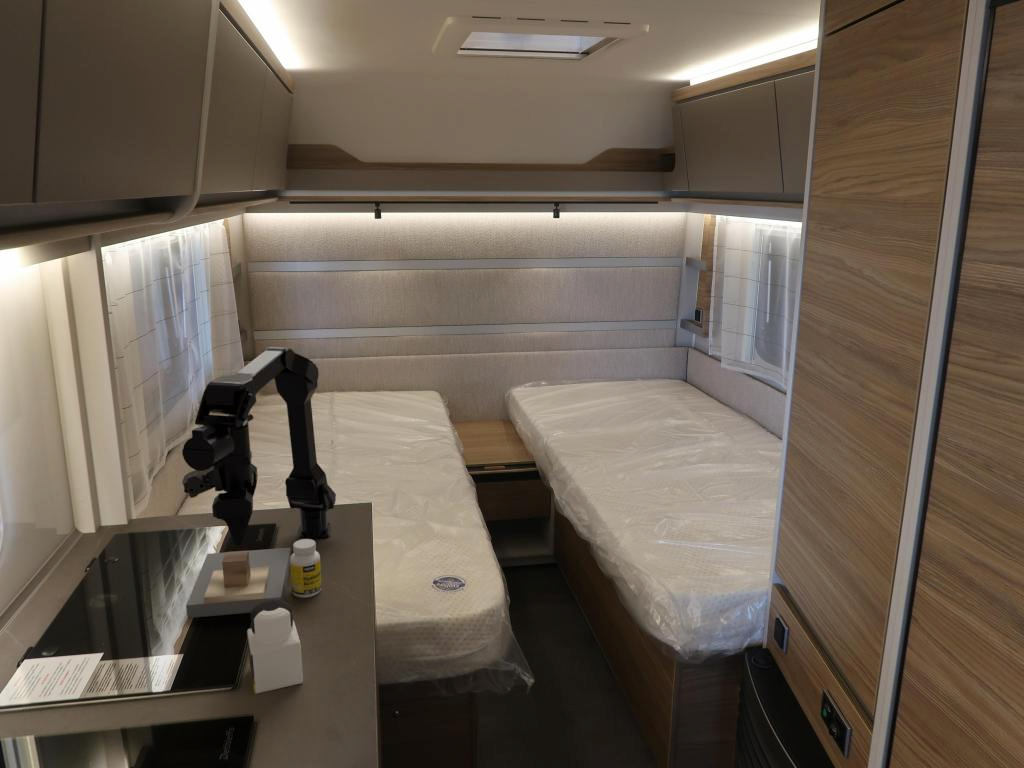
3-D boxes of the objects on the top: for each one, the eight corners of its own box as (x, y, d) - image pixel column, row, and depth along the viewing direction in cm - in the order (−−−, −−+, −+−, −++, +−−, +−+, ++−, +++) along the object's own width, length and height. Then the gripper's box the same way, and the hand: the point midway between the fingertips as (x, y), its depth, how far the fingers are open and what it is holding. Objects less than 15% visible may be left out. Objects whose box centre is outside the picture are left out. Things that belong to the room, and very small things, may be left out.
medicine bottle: (250, 668, 122) (244, 600, 119) (296, 658, 125) (291, 591, 122) (254, 695, 116) (248, 623, 113) (303, 683, 119) (298, 613, 116)
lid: (214, 576, 146) (211, 546, 144) (269, 572, 148) (267, 542, 146) (204, 603, 136) (201, 571, 135) (263, 598, 138) (261, 566, 137)
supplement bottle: (304, 601, 142) (301, 552, 140) (286, 592, 145) (282, 544, 143) (327, 590, 146) (325, 542, 144) (309, 581, 149) (306, 534, 147)
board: (208, 565, 155) (207, 553, 155) (291, 558, 158) (290, 547, 158) (187, 618, 136) (186, 605, 136) (281, 609, 139) (280, 597, 139)
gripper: (190, 438, 142) (198, 517, 146) (175, 473, 125) (184, 562, 129) (254, 434, 145) (260, 511, 149) (248, 467, 128) (255, 554, 131)
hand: (239, 533), depth 139 cm, fingers open, 9 cm apart
